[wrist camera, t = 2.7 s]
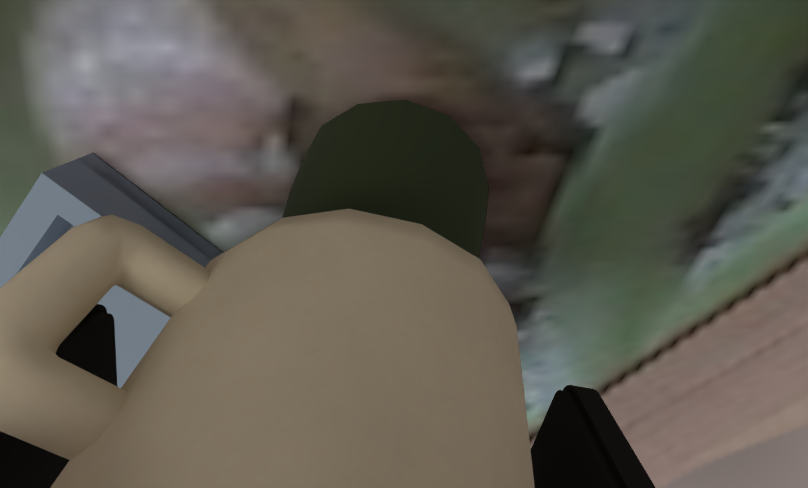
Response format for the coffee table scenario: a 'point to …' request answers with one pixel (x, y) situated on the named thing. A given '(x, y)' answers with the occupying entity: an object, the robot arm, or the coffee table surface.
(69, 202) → the tray
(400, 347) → the character mug
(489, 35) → the coffee table surface
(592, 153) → the coffee table surface
